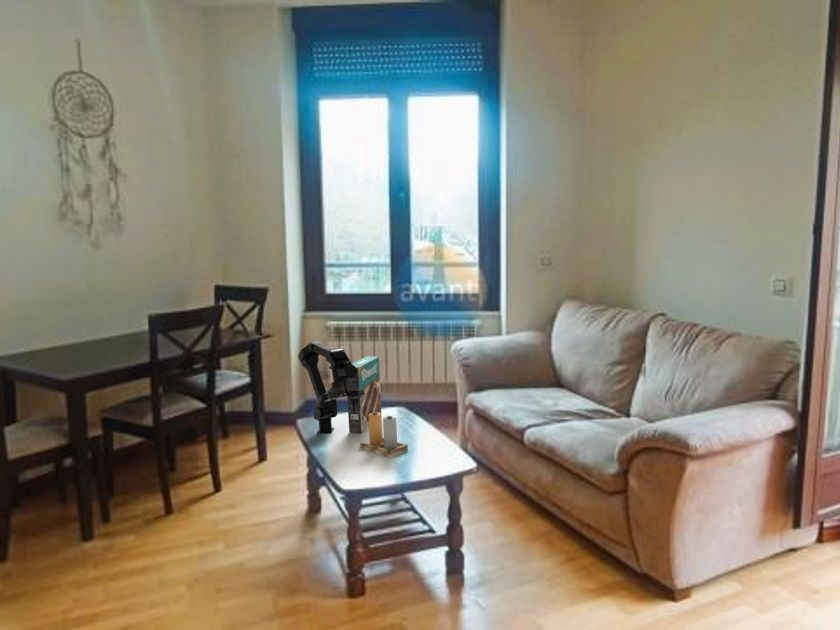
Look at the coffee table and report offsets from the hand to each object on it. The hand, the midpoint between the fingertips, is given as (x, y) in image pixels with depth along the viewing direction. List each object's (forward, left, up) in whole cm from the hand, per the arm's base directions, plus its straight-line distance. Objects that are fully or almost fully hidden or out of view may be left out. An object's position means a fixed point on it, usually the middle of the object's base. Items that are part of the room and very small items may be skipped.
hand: (345, 414), depth 290 cm
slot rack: (+10, +17, -12) cm, 23 cm away
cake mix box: (-21, +5, -12) cm, 25 cm away
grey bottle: (+13, +21, -11) cm, 26 cm away
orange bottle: (+7, +14, -11) cm, 19 cm away
